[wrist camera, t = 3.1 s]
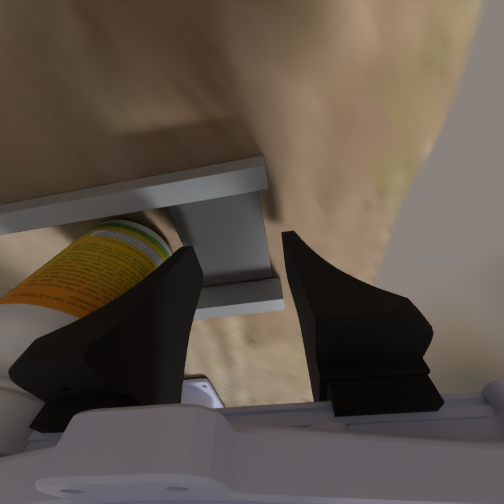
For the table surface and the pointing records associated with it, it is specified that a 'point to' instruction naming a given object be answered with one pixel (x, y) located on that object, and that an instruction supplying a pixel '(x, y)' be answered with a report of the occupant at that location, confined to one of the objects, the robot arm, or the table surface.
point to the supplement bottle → (67, 305)
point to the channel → (185, 226)
